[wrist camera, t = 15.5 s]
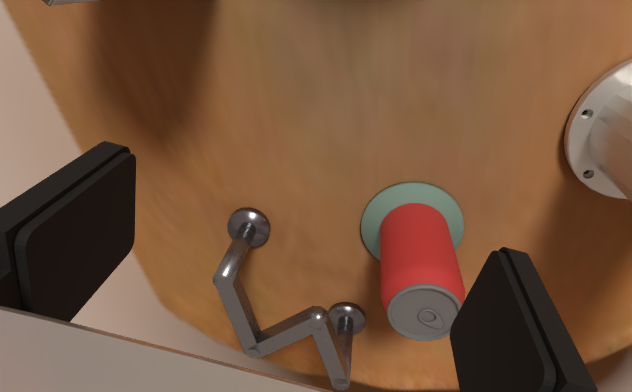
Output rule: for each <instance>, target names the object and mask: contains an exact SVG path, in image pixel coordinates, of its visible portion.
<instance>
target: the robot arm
mask: <svg viewBox="0 0 632 392" xmlns="http://www.w3.org/2000/svg"><path fill="white" fill-rule="evenodd" d="M584 110H586V111H585V112H584V113H583V114H582V112H583V111H584ZM564 152H565V155H566V159H567V162H568V164H569V166H570V168H571V169H572V171H573V173H574V174H575V175H576V176H577V177H578V178H579V180H580V181H581V182H583V183H584V184H585V185H586V186H588V187H589V188H590V189H592V190H594V191H596V192H598V193H600V194H602V195H605V196H609V197H613V198H618V199H629V200H630V201H631V202H632V58H631V59H629V60H627V61H625V62H623V63H620V64H619V65H617V66H616V67H614V68H612V69H611V70H609V71H608V72H606V73H605V74H603V75H602V76H601V77H600V78H599V79H598V80H597V81H595V82H594V83H593V84H592V85H591V86H590V87H589V88H588V89H587V90H586V92H585V93H584V94H583V95H582V96H581V98H580V99H579V100H578V102H577V104H576V105H575V107H574V109H573V110H572V112H571V115H570V117H569V120H568V122H567V125H566V130H565V135H564ZM135 186H136V157H135V155H134V154H130V150H129V148H128V147H125V146H122V145H118V144H114V143H110V142H106V141H104V142H101V143H100V144H98V145H97V146H95V147H93V148H92V149H90V150H89V151H87V152H86V153H84V154H83V155H81V156H80V157H78V158H77V159H75V160H73V161H72V162H70V163H69V164H67V165H66V166H64V167H63V168H61V169H60V170H58V171H57V172H55V173H53V174H52V175H50V176H49V177H47V178H46V179H44V180H43V181H41V182H40V183H38V184H36V185H35V186H33V187H32V188H30V189H29V190H27V191H26V192H24V193H23V194H21V195H20V196H18V197H16V198H15V199H13V200H12V201H10V202H9V203H7V204H6V205H4V206H2V207H1V208H0V392H333V391H329V390H325V389H322V388H318V387H314V386H311V385H307V384H303V383H300V382H295V381H292V380H288V379H285V378H281V377H277V376H273V375H269V374H266V373H262V372H258V371H254V370H251V369H247V368H243V367H239V366H236V365H232V364H228V363H224V362H220V361H217V360H213V359H209V358H205V357H202V356H198V355H194V354H190V353H186V352H182V351H179V350H175V349H171V348H167V347H163V346H159V345H155V344H151V343H148V342H144V341H140V340H136V339H132V338H129V337H124V336H121V335H117V334H113V333H109V332H105V331H102V330H98V329H94V328H90V327H86V326H82V325H78V324H74V323H70V321H71V320H72V319H73V317H74V316H75V315H76V314H77V313H78V312H79V310H80V309H81V308H82V307H83V306H84V305H85V304H86V302H87V301H88V300H89V299H90V298H91V297H92V295H93V294H94V293H95V292H96V291H97V290H98V288H99V287H100V286H101V285H102V284H103V283H104V281H105V280H106V279H107V278H108V277H109V276H110V274H111V273H112V272H113V271H114V270H115V269H116V268H117V266H118V265H119V264H120V263H121V262H122V261H123V259H124V258H125V257H126V256H127V255H128V254H129V252H130V251H131V249H132V247H133V244H134V236H135ZM450 341H451V346H452V351H453V356H454V362H455V367H456V372H457V377H458V382H459V388H460V392H597V390H598V389H597V387H596V386H595V384H594V382H593V380H592V378H591V376H590V374H589V372H588V370H587V368H586V366H585V364H584V362H583V360H582V358H581V356H580V354H579V352H578V350H577V349H576V347H575V345H574V343H573V341H572V339H571V337H570V335H569V333H568V331H567V329H566V327H565V325H564V323H563V321H562V319H561V317H560V315H559V314H558V312H557V310H556V308H555V306H554V304H553V302H552V300H551V298H550V296H549V294H548V292H547V290H546V288H545V286H544V284H543V282H542V280H541V279H540V277H539V275H538V273H537V271H536V269H535V267H534V265H533V263H532V261H531V259H530V257H529V255H528V254H527V253H524V252H521V251H517V250H513V249H509V248H506V247H503V248H501V249H500V250H499V251H492V252H491V254H490V255H489V257H488V259H487V261H486V262H485V264H484V266H483V268H482V270H481V272H480V273H479V275H478V277H477V279H476V281H475V283H474V284H473V286H472V288H471V290H470V292H469V294H468V295H467V297H466V299H465V301H464V303H463V305H462V307H461V308H460V310H459V312H458V314H457V316H456V318H455V319H454V321H453V323H452V325H451V329H450Z"/></svg>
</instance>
